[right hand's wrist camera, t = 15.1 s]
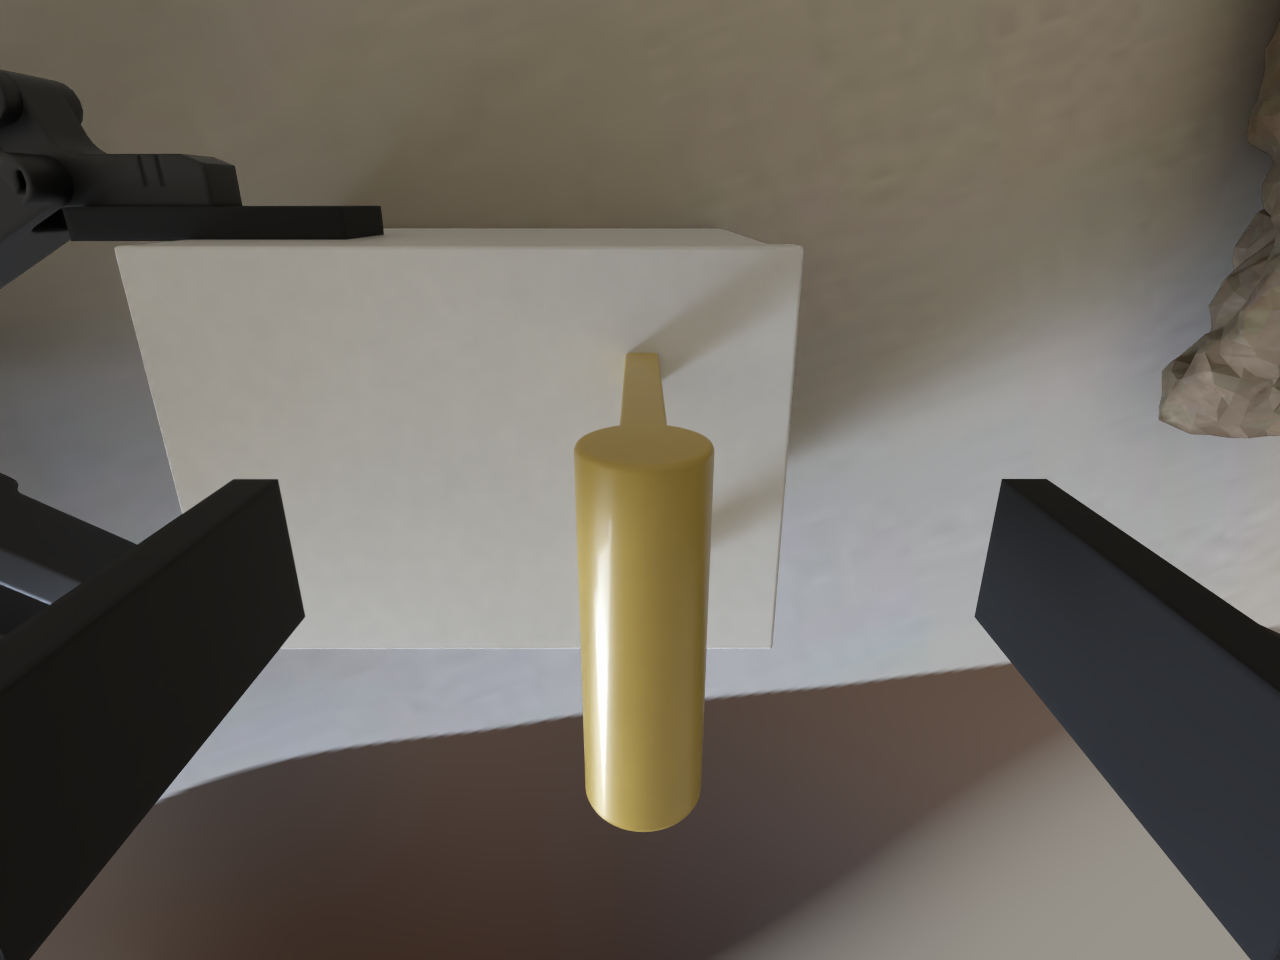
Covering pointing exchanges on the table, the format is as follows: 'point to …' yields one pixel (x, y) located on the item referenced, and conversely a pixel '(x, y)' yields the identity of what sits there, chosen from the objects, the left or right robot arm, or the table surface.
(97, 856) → the right robot arm
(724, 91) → the table surface
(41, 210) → the left robot arm
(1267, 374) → the stone
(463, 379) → the lid
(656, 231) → the chest
